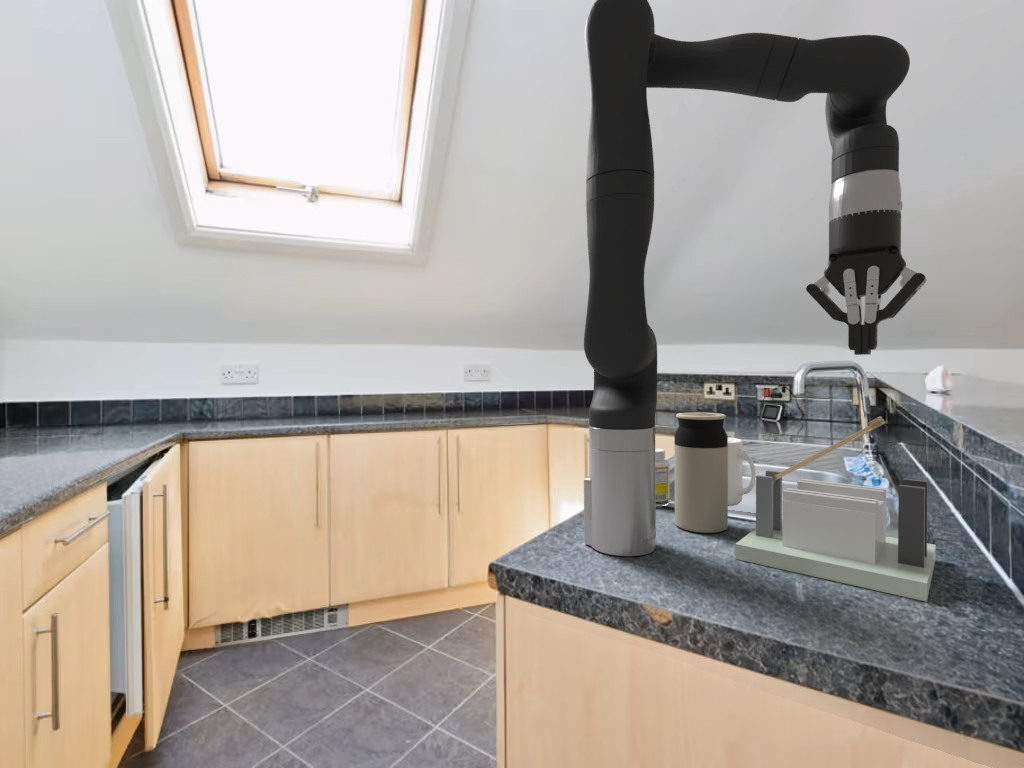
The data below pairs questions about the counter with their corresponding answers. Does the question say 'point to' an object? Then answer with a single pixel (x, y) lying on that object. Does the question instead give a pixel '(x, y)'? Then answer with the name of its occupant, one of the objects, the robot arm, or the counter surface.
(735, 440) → the mug
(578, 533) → the counter surface
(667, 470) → the supplement bottle
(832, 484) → the board
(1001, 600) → the counter surface
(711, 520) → the travel mug
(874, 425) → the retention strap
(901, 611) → the counter surface
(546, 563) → the counter surface
